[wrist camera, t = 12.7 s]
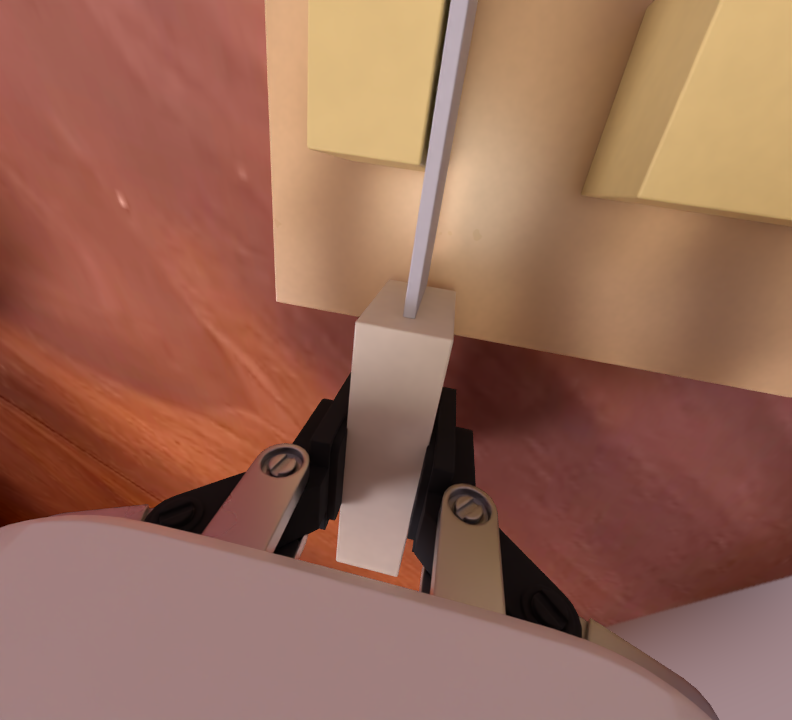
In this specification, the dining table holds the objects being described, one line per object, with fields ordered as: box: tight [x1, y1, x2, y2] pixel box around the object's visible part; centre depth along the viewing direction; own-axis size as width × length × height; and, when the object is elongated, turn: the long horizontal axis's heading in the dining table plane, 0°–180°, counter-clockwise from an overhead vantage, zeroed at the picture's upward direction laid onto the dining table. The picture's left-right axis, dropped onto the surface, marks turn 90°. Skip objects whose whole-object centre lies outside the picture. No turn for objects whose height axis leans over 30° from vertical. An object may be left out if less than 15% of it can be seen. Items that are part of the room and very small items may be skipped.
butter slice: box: [307, 0, 451, 172], centre depth 8 cm, size 2×4×4 cm, turn 172°
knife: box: [336, 0, 478, 577], centre depth 9 cm, size 19×2×4 cm, turn 172°
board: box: [265, 0, 792, 398], centre depth 9 cm, size 20×14×2 cm
